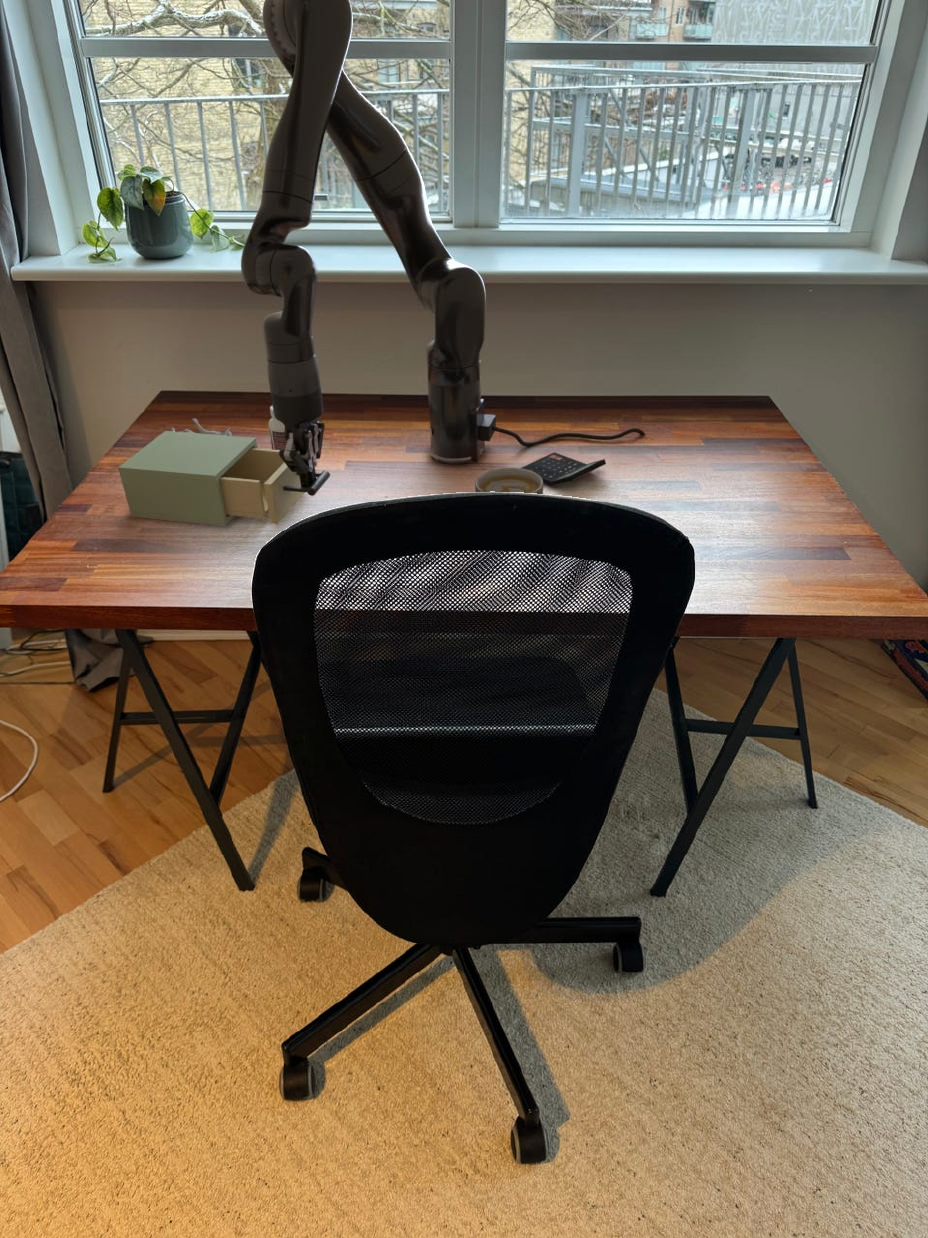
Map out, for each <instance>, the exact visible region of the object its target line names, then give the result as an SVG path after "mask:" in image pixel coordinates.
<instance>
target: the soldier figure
mask: <svg viewBox="0 0 928 1238" xmlns="http://www.w3.org/2000/svg"><path fill="white" fill-rule="evenodd" d="M191 421H193V423H194V424H195V427H196V428H197V429H198V432H199V433H200V434H213V435H226V436H233V432H232V429H231V427H229V426H228V428H227V429H226V430H224V431H222V432H221V431H219V430H218V431H216V430H213V429H212V430H207V429H204V427H202V425H201V424H200V423H199V421H198V419H197V418H196V417H193V418H192V419H191ZM170 431H174V432H176V429H175V428H174V427H171V428H170ZM179 432H187V433H194V431H192V430H190V429H187V428H185V429H183V430H180V431H179Z"/></svg>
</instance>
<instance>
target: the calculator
mask: <svg viewBox="0 0 928 1238" xmlns="http://www.w3.org/2000/svg"><path fill="white" fill-rule="evenodd" d="M605 465H607V462H606V459H605V458H603V459H599V460H596V461H593V462H589V463H585V462H582V461H580V460H577V459H573V458H571V457H568V456H565V455H563V454H560V453H558V452H551V453H549V454H547V455H545V456H543V457H541V458H539V459H537V460H535V461H533V462H531V463H528V464H526V465H524V466H521V468H522V469H526V470H530V471H532V472H535V473H536V474H538V475H539V476H540V477H541V478H542V480H543V485H547V486H549V487H554V486H559V485H563V484H566V483H572V482H573V481H575V480H578V479H579V478H581V477H583V476H584V475H587V474H589V473H591V472H593V471H595V470H597V469H599V468H601V467H603V466H605Z"/></svg>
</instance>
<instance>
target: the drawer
mask: <svg viewBox="0 0 928 1238" xmlns="http://www.w3.org/2000/svg"><path fill="white" fill-rule="evenodd" d="M279 451H280V450H272V448H251V449H250V450H248V451H247V452H246V453H245V454H244V455H243V456H242V457H241V458H240V459H239V460H238V461H237V462H236V463H235V464H234V465H233V466H232V467H230V468H229V469H228V470H227V471H226V472H225V473H224V474H223V475H222V476H221V477H220V478H219V483H220V488H221V493H222V497H223V502H224V507H225V512H226V515H235V517H247V518H255V519H256V518H257V519H265V518H266V517H267V516H268V517H269V522H270V524H271V525H279V523H280V522H281V521H282V520H283V518H284V517H285V516H287V514H288V513H289V512H290V510H291V509H292V508H293V507H294V506H295V504H296V503H298V501H299V500H300V499H301V498H302V497H303V495H304V494H305V493H307V494H308V495H309V496H310V497H314V496H315V495H316V494H317V493H318V492H319V490H320V489H322V487H323V486H324V484H325V483H326V482H327V481H328V480H329V478H330V477H331V473H330V471H329V470H326V469H324V470H323V471H322V472H316V471H315V472H316V480H315V481H314V482H313V483H312V485H311V486H310V487H309V488H306V487H301V484H300V477H299V472H291V470H290V469H289V468H288V467H287V465H286V464H285V463H284V461H283V460H282V459H281V457H280V456H279Z"/></svg>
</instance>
